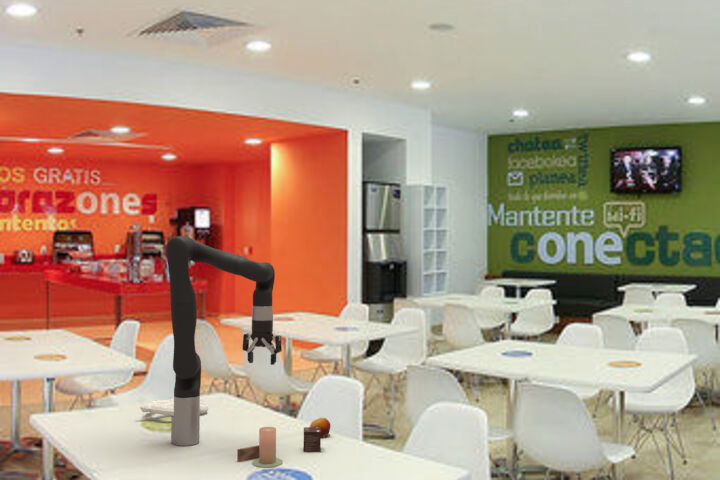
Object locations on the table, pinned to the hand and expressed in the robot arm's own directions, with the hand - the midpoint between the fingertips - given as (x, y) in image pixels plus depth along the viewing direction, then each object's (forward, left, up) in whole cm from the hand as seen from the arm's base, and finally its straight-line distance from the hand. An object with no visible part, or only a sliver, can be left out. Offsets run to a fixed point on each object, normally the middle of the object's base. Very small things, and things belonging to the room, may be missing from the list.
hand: (261, 363), depth 278 cm
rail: (+4, -12, -30) cm, 33 cm away
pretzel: (-54, +30, -30) cm, 69 cm away
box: (+18, +4, -30) cm, 35 cm away
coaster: (+10, -16, -30) cm, 36 cm away
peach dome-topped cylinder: (+10, -16, -30) cm, 35 cm away
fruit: (+14, +22, -30) cm, 40 cm away
